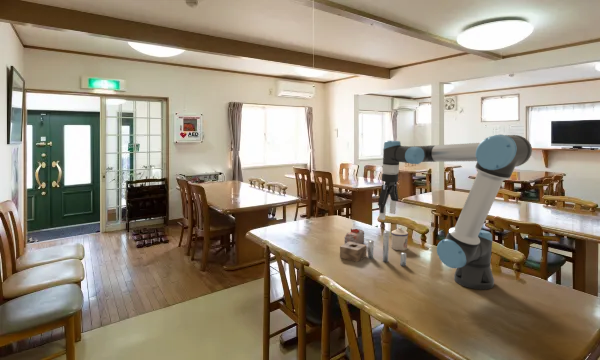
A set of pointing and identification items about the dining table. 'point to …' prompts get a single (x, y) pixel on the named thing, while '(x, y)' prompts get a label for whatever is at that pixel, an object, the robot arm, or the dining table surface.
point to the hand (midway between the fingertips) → (387, 216)
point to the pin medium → (370, 249)
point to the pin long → (385, 246)
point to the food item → (355, 236)
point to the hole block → (353, 251)
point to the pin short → (403, 259)
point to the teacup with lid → (399, 239)
